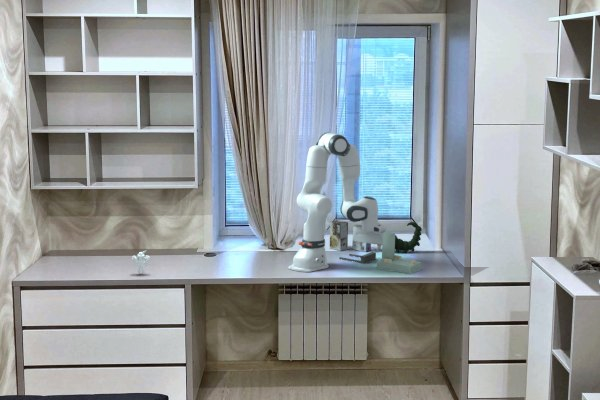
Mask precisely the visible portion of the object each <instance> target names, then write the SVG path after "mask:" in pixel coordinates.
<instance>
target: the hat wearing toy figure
mask: <svg viewBox="0 0 600 400" xmlns="http://www.w3.org/2000/svg"><path fill="white" fill-rule="evenodd" d="M146 252H147V249H146V250H142V251H140V252H138V253H137V255H132V257H131V261H134V262H133V264H132V267H133V268H134V267H135V266H136V264H137V273H136V274H137V275H141V274H142V275H145V274H146V270H145V267H146V268H149V266H150V264H149V262H148V261H150V256H149V255H145V253H146Z"/></svg>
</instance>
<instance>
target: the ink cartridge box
mask: <svg viewBox="0 0 600 400" xmlns="http://www.w3.org/2000/svg"><path fill="white" fill-rule="evenodd" d="M362 245H363V247H364V250H360V246H359V242H355V241H353V240H352V244H351V247H352V250H354V251H360V252H369V251H370V252H371V251H372V244H369V243H362Z"/></svg>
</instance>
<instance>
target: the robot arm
mask: <svg viewBox="0 0 600 400" xmlns="http://www.w3.org/2000/svg"><path fill="white" fill-rule="evenodd" d="M331 155H332V156H333V155H335V156H336V157H337V158H338V167H339V174H340V178H341V186H342V188H341V189H342V202H341V205H340V214H341V216H342V217H344V218H345V219H347V220H348V221H350V222H353V223H357V222H361V224H355V225H354V226H353V227H352V242H353V241H355V242H359V246H360V250H364V247H363V245H362V243H369V244H371V245H376V246H377V248H375V252H376V254H377V253H380V249H381V248H382V235H383V233H385V232H387V226H386V225H385V224H382V223H380V222H379V218H378V214H379V205H378V201H377V199H376V198H374V197H373V196H367V195H366V196H363V197H362V198H361V199H359V200H357V201H356V199H355V182H356V181H357V180H358V179H359V178H360V176H361V162H360V156H359V151H358V148H357V146H356V145H355V144H351V143H349V141H348V139H347V138H346V137H345V136H344V135H342V134H339V133H336V132H324V133H322V135H320V137H319V138H318V140H317V142H316V144H314V145H313V146H311V147H309V149H308V153H307V156H306V163H305V164H306V165H305V166H306V167H305V176H304V182H303V187H302V189H301V192H299V194H298V195H297V197H296V204H297V206H298V208H300V209H301V210H302V211H304V212H307V219H306V221H305V222H304V224H303V230H302V231H303V238H302V240H299V241H298V243H297V244H298V246H301V247H300V248H299V249H298V250H297V252H296V254H295V255H294V256H293V259H292V264H291V265H290V264H289V265H288V268H287V269H289V270H292V271H296V272H304V273H311V272H314V271H320V270H324V269H328V268H329V264H328V259H327V257H328V256H327V251H326V248H325V246H326V240H325V225H326V220H327V218H328V215H329V214H331V213H330V212H331V211H332V210H333V201H332V200H331V199H330V198H329V197H328V196H326V195H324V194H321V192H322V188H323V186H324V185H325V184H326V182H327V175H328V174H327V173H328V161H329V157H330V156H331Z"/></svg>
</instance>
